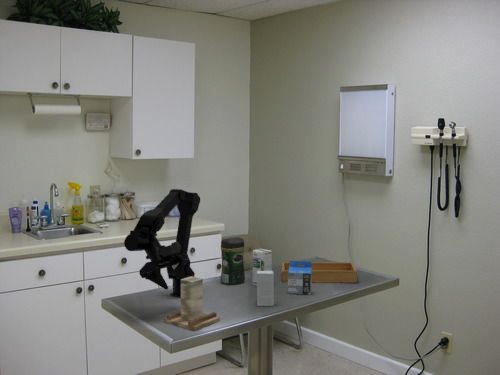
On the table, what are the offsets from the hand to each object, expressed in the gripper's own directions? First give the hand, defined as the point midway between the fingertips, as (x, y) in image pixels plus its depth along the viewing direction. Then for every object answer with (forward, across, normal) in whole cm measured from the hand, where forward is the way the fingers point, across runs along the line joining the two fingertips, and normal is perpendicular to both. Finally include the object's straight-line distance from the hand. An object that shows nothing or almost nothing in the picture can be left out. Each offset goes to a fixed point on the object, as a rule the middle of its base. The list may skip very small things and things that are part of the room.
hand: (176, 286), depth 195 cm
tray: (+17, +73, -4) cm, 75 cm away
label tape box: (+21, +49, -7) cm, 54 cm away
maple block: (+12, -1, +1) cm, 12 cm away
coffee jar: (0, +46, +15) cm, 49 cm away
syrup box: (+8, +50, +6) cm, 51 cm away
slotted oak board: (+13, -1, +2) cm, 13 cm away
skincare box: (+19, +29, -5) cm, 35 cm away
